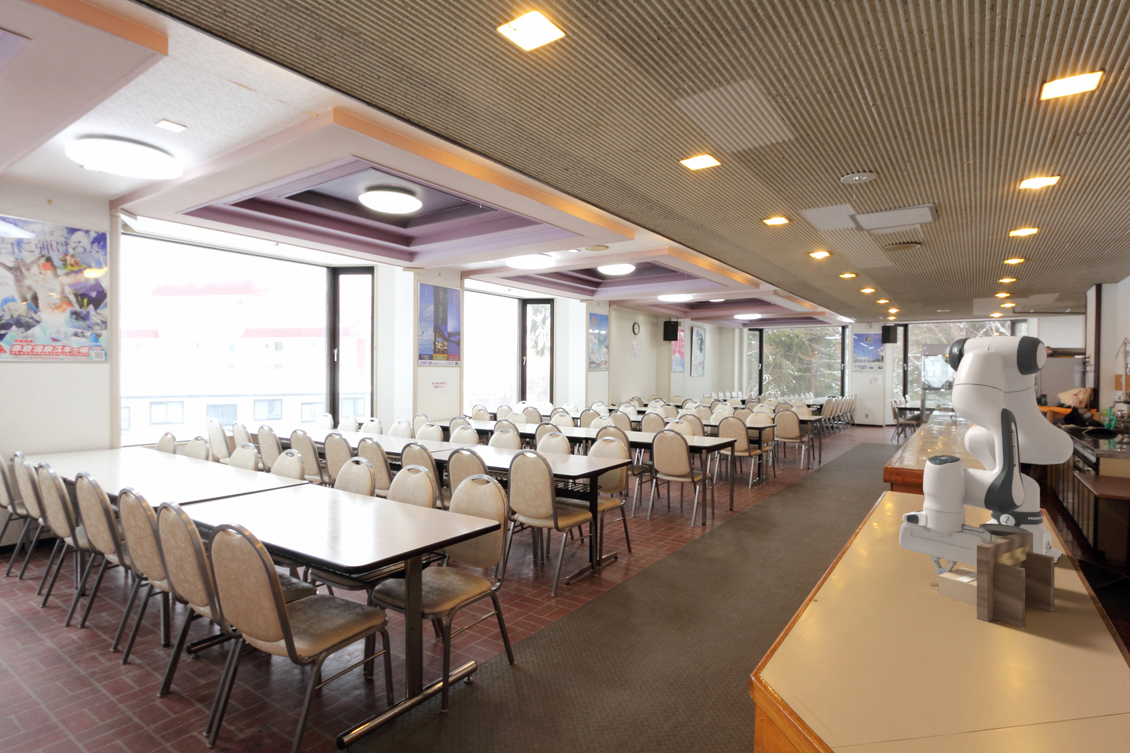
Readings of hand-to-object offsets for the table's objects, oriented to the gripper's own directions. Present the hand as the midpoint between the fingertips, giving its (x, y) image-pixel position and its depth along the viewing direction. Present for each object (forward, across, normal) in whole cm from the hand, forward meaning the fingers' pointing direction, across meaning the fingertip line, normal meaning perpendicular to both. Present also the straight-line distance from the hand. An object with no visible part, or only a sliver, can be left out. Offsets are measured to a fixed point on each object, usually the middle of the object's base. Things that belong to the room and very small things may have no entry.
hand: (943, 575), depth 143 cm
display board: (+3, -16, +2) cm, 17 cm away
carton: (+4, -6, 0) cm, 7 cm away
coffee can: (+3, -6, -18) cm, 19 cm away
